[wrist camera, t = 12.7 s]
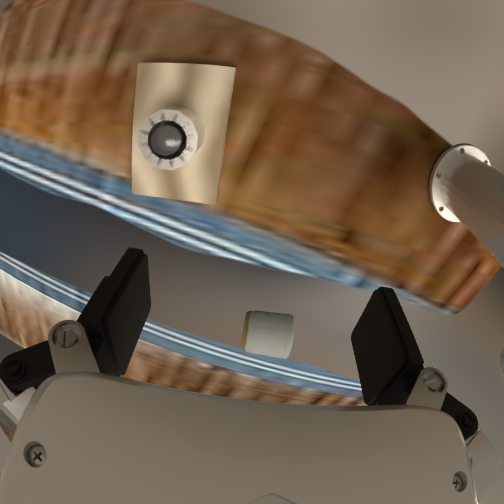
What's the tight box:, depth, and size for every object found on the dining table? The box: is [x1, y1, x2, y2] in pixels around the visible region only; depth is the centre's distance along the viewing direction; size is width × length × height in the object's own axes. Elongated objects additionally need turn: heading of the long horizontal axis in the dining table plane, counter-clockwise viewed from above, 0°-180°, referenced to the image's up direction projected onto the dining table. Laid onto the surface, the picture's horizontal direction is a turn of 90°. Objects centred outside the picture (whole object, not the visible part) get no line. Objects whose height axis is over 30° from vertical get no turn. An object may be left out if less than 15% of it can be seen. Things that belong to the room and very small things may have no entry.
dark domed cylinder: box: [151, 121, 187, 156], centre depth 32 cm, size 3×3×4 cm
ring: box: [138, 106, 205, 170], centre depth 32 cm, size 7×7×4 cm
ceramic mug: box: [241, 311, 294, 359], centre depth 50 cm, size 11×8×8 cm
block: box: [132, 63, 236, 205], centre depth 34 cm, size 12×18×2 cm, turn 171°
